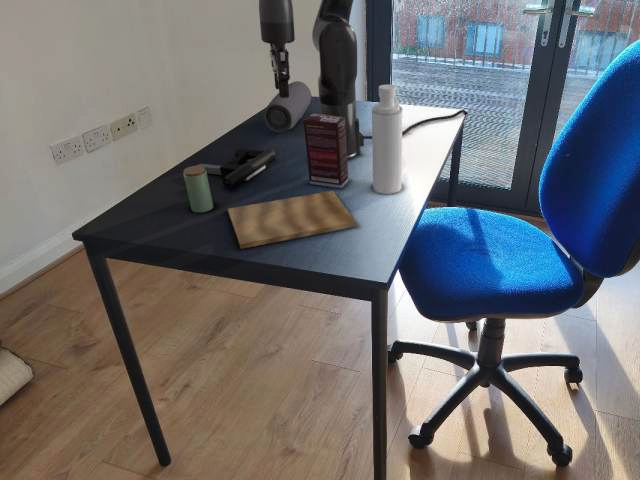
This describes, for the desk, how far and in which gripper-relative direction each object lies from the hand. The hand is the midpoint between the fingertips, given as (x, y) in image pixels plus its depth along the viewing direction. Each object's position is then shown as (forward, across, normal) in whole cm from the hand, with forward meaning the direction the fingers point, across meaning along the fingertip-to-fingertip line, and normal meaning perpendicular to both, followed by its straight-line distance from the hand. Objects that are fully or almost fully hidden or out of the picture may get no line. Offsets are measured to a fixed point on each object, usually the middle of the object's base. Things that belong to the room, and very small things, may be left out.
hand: (282, 93), depth 134 cm
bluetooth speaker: (+17, +30, -5) cm, 35 cm away
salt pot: (+20, -19, +21) cm, 34 cm away
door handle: (+19, 0, +14) cm, 23 cm away
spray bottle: (+18, -21, -21) cm, 34 cm away
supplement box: (+18, -14, -8) cm, 24 cm away
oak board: (+19, -30, +3) cm, 36 cm away
